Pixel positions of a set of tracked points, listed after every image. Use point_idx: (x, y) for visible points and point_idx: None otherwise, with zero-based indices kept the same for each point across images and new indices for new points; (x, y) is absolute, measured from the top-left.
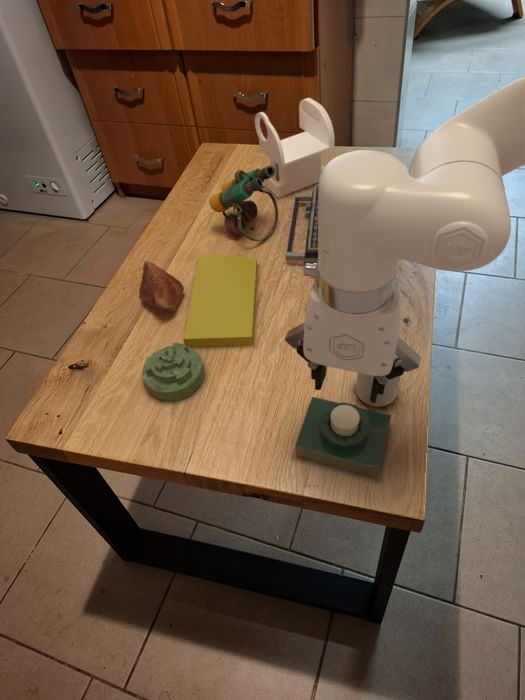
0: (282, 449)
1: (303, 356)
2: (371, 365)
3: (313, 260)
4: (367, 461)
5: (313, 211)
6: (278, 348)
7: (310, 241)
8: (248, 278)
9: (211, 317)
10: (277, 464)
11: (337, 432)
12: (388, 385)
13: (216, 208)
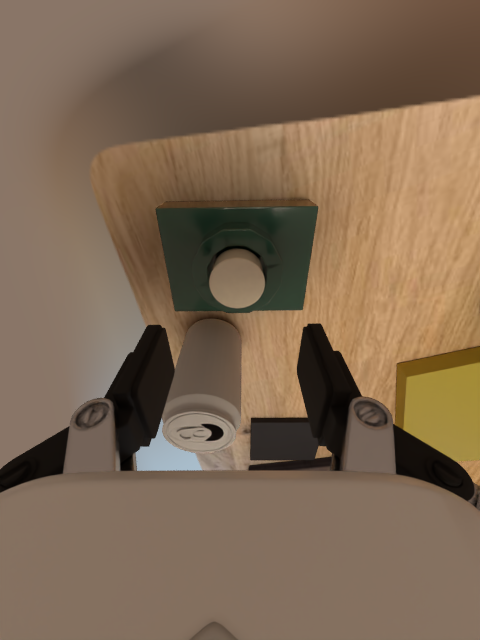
0: (335, 206)
1: (420, 449)
2: (3, 619)
3: (328, 469)
4: (181, 216)
5: None
6: (358, 366)
7: None
8: None
9: (471, 391)
10: (341, 171)
11: (244, 251)
12: (186, 356)
13: None
